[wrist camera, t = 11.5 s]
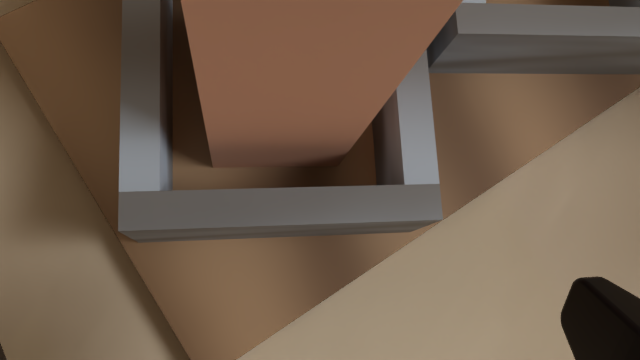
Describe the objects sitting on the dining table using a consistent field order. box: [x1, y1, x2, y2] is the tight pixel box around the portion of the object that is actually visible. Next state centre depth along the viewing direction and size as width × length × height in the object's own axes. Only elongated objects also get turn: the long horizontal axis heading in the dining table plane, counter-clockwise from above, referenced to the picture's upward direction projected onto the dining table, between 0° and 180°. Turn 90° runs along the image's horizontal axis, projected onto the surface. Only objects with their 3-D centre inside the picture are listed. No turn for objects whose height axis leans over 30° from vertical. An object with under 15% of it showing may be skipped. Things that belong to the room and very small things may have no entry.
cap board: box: [0, 0, 640, 360], centre depth 19 cm, size 24×13×4 cm, turn 123°
